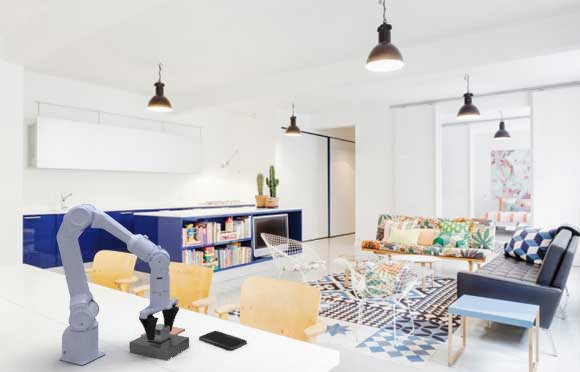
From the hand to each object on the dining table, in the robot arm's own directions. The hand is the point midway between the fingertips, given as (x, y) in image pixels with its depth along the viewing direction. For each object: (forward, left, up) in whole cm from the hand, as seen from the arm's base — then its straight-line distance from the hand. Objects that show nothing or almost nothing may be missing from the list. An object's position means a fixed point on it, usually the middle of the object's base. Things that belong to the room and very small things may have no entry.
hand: (159, 335), depth 120 cm
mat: (-8, +11, -4) cm, 14 cm away
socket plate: (0, 0, -4) cm, 4 cm away
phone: (+14, +13, -5) cm, 20 cm away
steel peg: (0, 0, -4) cm, 4 cm away
